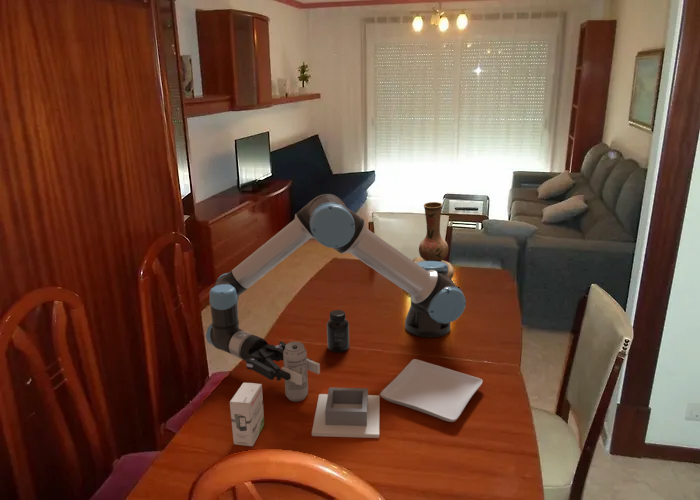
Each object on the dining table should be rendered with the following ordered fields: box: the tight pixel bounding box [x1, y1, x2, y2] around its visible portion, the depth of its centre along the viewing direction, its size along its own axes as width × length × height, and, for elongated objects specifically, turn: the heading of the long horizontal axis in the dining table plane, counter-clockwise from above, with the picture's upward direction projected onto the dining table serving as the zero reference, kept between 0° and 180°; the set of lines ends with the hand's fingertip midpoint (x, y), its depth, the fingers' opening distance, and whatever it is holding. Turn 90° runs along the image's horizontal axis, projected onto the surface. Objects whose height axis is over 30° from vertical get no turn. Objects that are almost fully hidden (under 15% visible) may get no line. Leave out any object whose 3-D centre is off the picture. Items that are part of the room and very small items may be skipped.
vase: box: [412, 201, 455, 280], centre depth 208 cm, size 24×22×35 cm
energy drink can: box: [283, 341, 309, 402], centre depth 140 cm, size 6×6×15 cm
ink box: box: [229, 382, 265, 447], centre depth 126 cm, size 9×5×12 cm, turn 169°
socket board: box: [311, 387, 381, 439], centre depth 133 cm, size 16×16×5 cm
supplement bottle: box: [326, 309, 350, 353], centre depth 166 cm, size 7×7×12 cm
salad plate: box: [379, 358, 484, 423], centre depth 142 cm, size 21×21×3 cm
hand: (310, 374), depth 137 cm, fingers closed on energy drink can, 6 cm apart
